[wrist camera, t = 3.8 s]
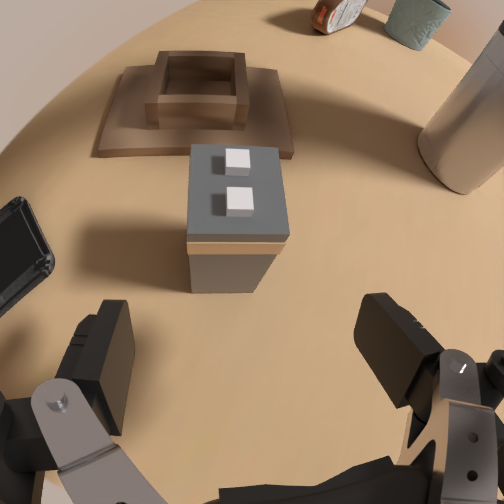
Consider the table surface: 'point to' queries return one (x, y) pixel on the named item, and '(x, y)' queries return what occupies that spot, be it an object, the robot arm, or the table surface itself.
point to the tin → (335, 14)
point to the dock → (195, 106)
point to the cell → (234, 216)
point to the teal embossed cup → (416, 21)
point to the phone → (21, 253)
